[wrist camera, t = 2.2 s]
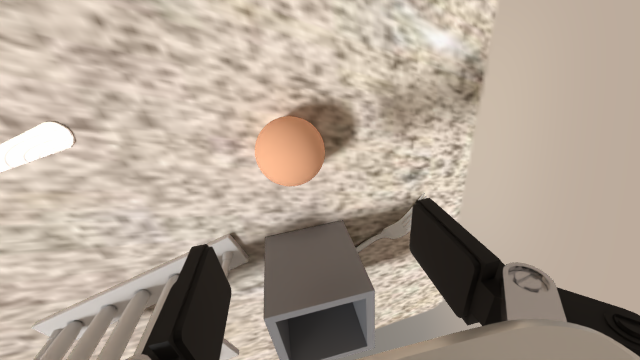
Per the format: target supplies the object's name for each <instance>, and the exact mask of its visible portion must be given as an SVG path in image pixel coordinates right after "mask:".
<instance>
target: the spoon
mask: <svg viewBox="0 0 640 360" xmlns="http://www.w3.org/2000/svg"><path fill="white" fill-rule="evenodd" d="M73 136H74V135H73V134H72V132H71V131H70V130H69V129H68V128H67V127H65V126H64V125H62V124H60V123H57V122H52V121H51V122H50V121H49V122H44V123H41V124H39V125H38V126H36V127H33V129H30V130H28V131H26V132H23V133H22V134H20V135H18V136H15V138H12V139H10V140H7V142H4V143H2V144H0V173H1V172H3V171H6V170H8V169H12V168H14V167H18V166H20V165H23V164H25V163H29V162H31V161H35V160H37V159H40V158H42V157H46V156H48V155H51V154H54V153H57V152H61V151H63V150H65V149H68V148H70V147H72V145H74V143H75V142H74V141H75V140H74V139H75V138H74V137H73Z"/></svg>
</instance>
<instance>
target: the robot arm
mask: <svg viewBox="0 0 640 360" xmlns="http://www.w3.org/2000/svg"><path fill="white" fill-rule="evenodd" d="M410 251H411V253H412V254H413V256H414V257H415V259H416V260H417V261H418V263H419V264H420V266H421V267H422V268H423V270H424V271H425V273H426V274H427V275H428V277H429V278H430V280H431V281H432V282H433V284H434V285H435V286H436V288H437V289H438V291H439V292H440V293H441V295H442V296H443V298H444V299H445V300H446V302H447V303H448V305H449V306H450V307H451V309H452V310H453V311H454V313H455V314H456V315H457V316H458V317H459V318H462V319H463V320H464V321H465V323H466V324H467V325H471V324H474V323H478V322H480V324H481V325H482V326H481V327H477V328H473V329H469V330H465V331H461V332H456V333H453V334H449V335H446V336H441V337H438V338H434V339H430V340H427V341H422V342H419V343H415V344H411V345H407V346H404V347H400V348H396V349H392V350H389V351H385V352H382V353H378V354H374V355H370V356H367V357H363V358H360V359H356V360H640V316H639V315H638V314H636V313H633V312H631V311H628V310H626V309H623V308H620V307H617V306H614V305H610V304H607V303H604V302H601V301H598V300H595V299H592V298H589V297H585V296H582V295H579V294H576V293H573V292H570V291H567V290H563V289H560V288H557V287H556V285H555V283H554V281H553V280H552V279H551V278H550V277H549V276H548V275H547V274H546V273H544V272H543V271H541V270H539V269H538V268H535V267H534V266H531V265H528V264H524V263H509V264H506V265H504V264H503V263H502V262H501V261H500V259H499V258H498V257H496V256H495V255H494V254H493V253H492V252H491V251H490V250H488V249H487V248H486V247H485V246H484V245H483V244H482V243H480V242H479V241H478V240H477V239H476V238H475V237H474V236H472V235H471V234H470V233H469V232H468V231H467V230H466V229H464V228H463V227H462V226H461V225H460V224H459V223H458V222H457V221H455V220H454V219H453V218H452V217H451V216H450V215H449V214H447V213H446V212H445V211H444V210H443V209H442V208H441V207H439V206H438V205H437V204H436V203H435V202H434V201H433V200H431V199H430V198H426V199H421V200H417V201H416V203H415V204H414V205H413V208H412V220H411V233H410ZM230 299H231V287H230V285H229V282H228V280H227V278H226V276H225V273H224V271H223V269H222V267H221V264H220V262H219V260H218V258H217V255H216V253H215V251H214V249H213V247H209V246H208V245H207V244H204V245H199V246H194V247H192V248H191V249H190V252H189V254H188V256H187V258H186V261H185V263H184V265H183V268H182V270H181V272H180V274H179V277H178V279H177V281H176V282H175V283H174V284H173V285H172V287H171V289H170V291H169V293H168V296H167V298H166V300H165V302H164V304H163V307H162V309H161V311H160V313H159V316H158V318H157V320H156V322H155V324H154V327H153V329H152V331H151V333H150V335H149V338H148V340H147V342H146V344H145V347H144V349H143V351H142V353H141V354H140V355H134V356H132V357H130V358H128V359H126V360H220V354H221V349H222V343H223V338H224V332H225V327H226V321H227V315H228V310H229V304H230Z"/></svg>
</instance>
